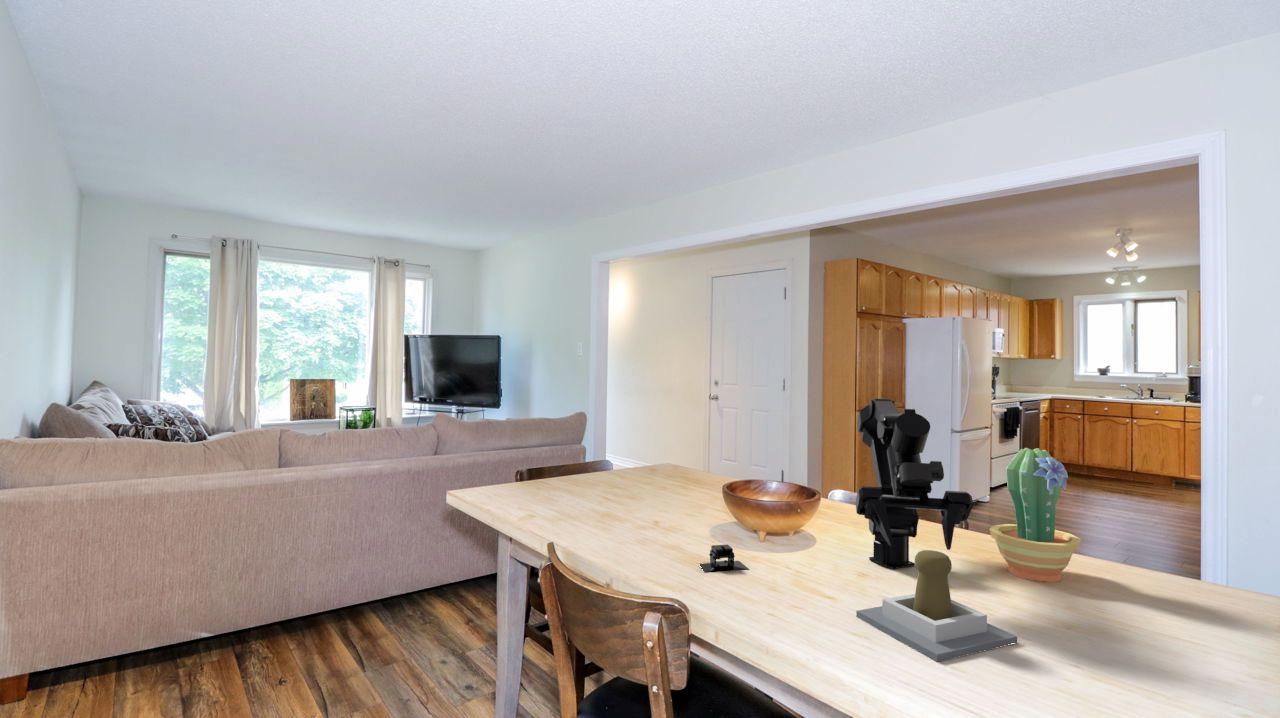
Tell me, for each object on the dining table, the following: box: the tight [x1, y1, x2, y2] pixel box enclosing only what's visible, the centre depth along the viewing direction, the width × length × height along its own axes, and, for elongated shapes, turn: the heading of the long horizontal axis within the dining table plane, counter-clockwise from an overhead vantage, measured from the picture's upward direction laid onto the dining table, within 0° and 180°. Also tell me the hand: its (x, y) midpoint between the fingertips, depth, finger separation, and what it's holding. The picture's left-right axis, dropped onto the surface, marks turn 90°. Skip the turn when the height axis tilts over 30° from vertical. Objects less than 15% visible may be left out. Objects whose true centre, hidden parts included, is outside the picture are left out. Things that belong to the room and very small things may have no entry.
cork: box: [913, 549, 953, 621], centre depth 94 cm, size 6×6×11 cm
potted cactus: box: [989, 447, 1082, 583], centre depth 120 cm, size 15×15×25 cm
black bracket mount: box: [699, 544, 751, 574], centre depth 123 cm, size 12×7×5 cm, turn 102°
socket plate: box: [855, 593, 1018, 663], centre depth 94 cm, size 16×16×4 cm
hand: (919, 546), depth 102 cm, fingers open, 9 cm apart
